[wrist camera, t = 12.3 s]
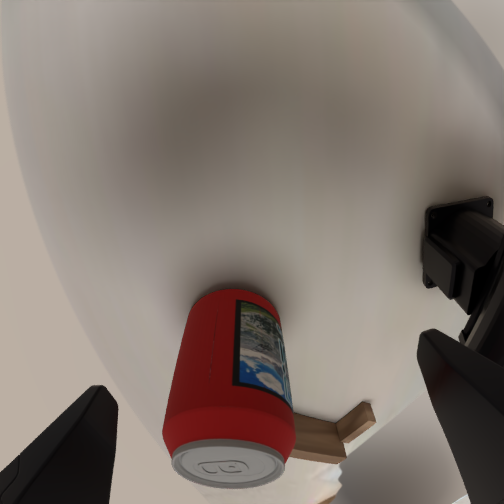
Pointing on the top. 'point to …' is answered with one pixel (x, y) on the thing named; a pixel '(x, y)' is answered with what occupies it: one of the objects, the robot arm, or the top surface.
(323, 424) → the can cradle
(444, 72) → the top surface
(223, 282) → the top surface
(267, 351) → the beverage can
